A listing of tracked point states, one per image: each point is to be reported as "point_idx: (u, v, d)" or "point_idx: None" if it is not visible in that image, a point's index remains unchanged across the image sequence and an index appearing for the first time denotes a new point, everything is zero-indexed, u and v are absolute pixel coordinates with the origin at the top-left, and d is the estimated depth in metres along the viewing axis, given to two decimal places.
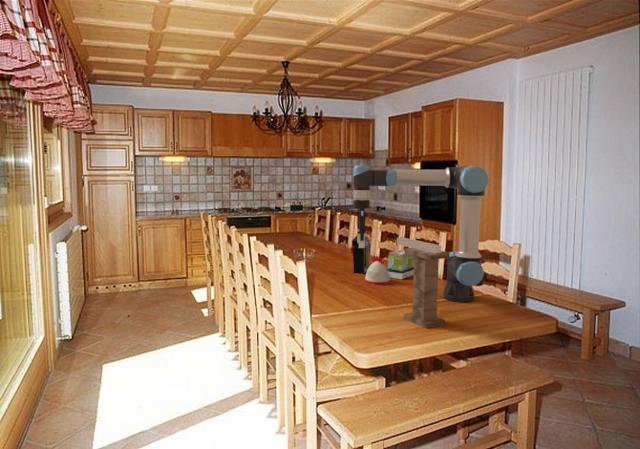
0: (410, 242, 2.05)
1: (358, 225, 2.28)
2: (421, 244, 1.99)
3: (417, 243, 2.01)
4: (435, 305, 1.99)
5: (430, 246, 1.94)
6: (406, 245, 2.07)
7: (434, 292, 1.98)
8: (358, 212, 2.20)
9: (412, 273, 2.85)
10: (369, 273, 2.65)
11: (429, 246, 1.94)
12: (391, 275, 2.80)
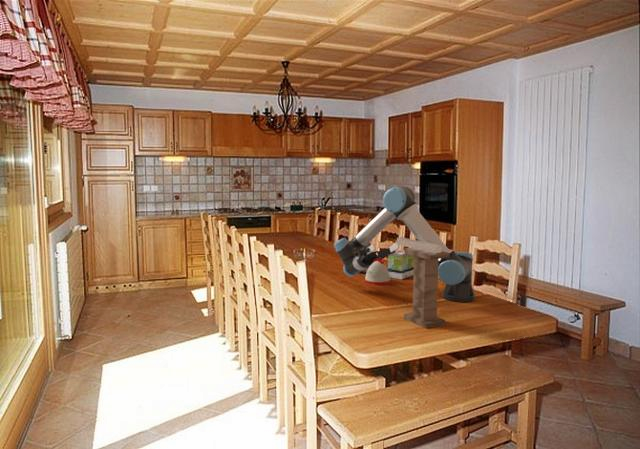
0: (410, 242, 2.05)
1: (387, 253, 2.32)
2: (421, 244, 1.99)
3: (417, 243, 2.01)
4: (435, 305, 1.99)
5: (430, 246, 1.94)
6: (406, 245, 2.07)
7: (434, 292, 1.98)
8: None
9: (412, 273, 2.85)
10: (369, 273, 2.65)
11: (429, 246, 1.94)
12: (391, 275, 2.80)
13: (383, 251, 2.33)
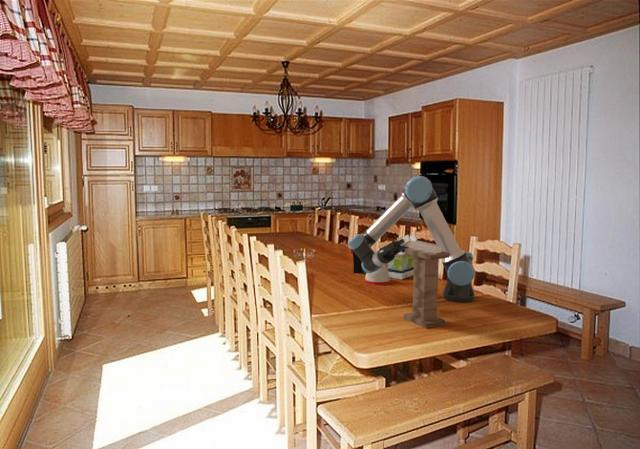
0: (410, 242, 2.05)
1: (404, 246, 2.14)
2: (421, 244, 1.99)
3: (417, 243, 2.01)
4: (435, 305, 1.99)
5: (430, 246, 1.94)
6: (406, 245, 2.07)
7: (434, 292, 1.98)
8: (388, 254, 2.19)
9: (412, 273, 2.85)
10: (369, 273, 2.65)
11: (429, 246, 1.94)
12: (391, 275, 2.80)
13: (401, 245, 2.16)
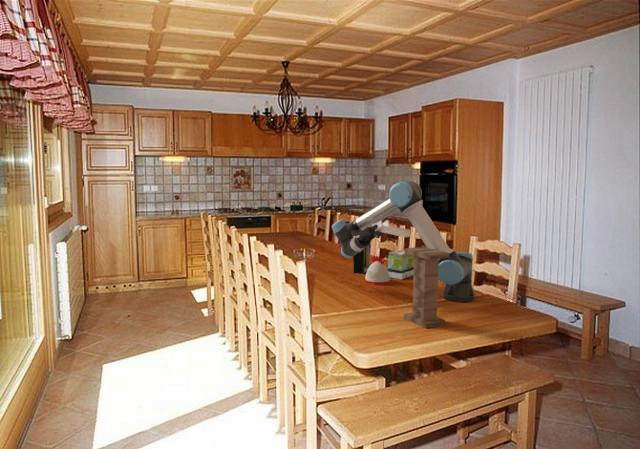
0: (383, 227, 2.22)
1: (378, 232, 2.31)
2: (392, 228, 2.15)
3: (389, 228, 2.18)
4: (435, 305, 1.99)
5: (400, 230, 2.11)
6: (379, 230, 2.24)
7: (434, 292, 1.98)
8: (364, 239, 2.36)
9: (412, 273, 2.85)
10: (369, 273, 2.65)
11: (399, 230, 2.11)
12: (391, 275, 2.80)
13: (375, 231, 2.32)
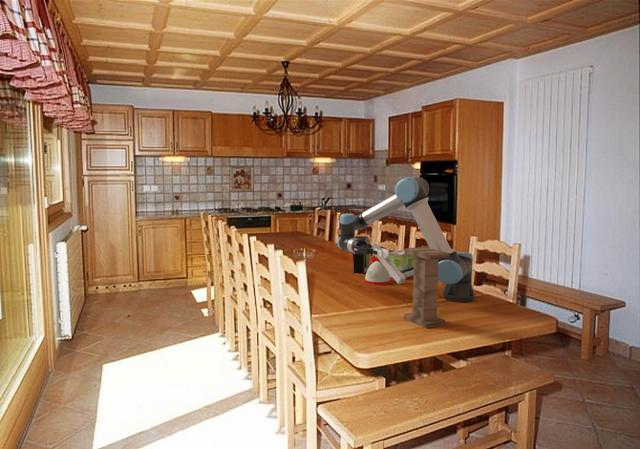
0: (382, 257, 2.24)
1: None
2: (390, 267, 2.19)
3: (387, 263, 2.21)
4: (435, 305, 1.99)
5: (396, 275, 2.15)
6: (378, 257, 2.27)
7: (434, 292, 1.98)
8: None
9: (412, 273, 2.85)
10: (369, 273, 2.65)
11: (395, 274, 2.15)
12: None
13: None
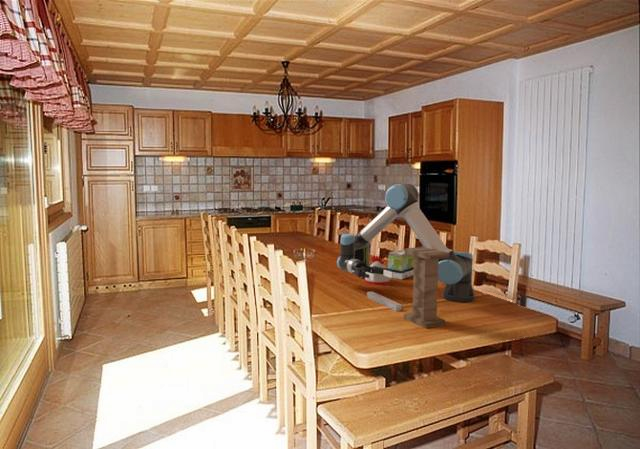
0: (377, 298, 2.30)
1: (380, 273, 2.36)
2: (385, 301, 2.24)
3: (382, 300, 2.26)
4: (435, 305, 1.99)
5: (392, 304, 2.19)
6: (374, 300, 2.33)
7: (434, 292, 1.98)
8: None
9: (412, 273, 2.85)
10: None
11: (391, 304, 2.19)
12: None
13: (377, 270, 2.37)
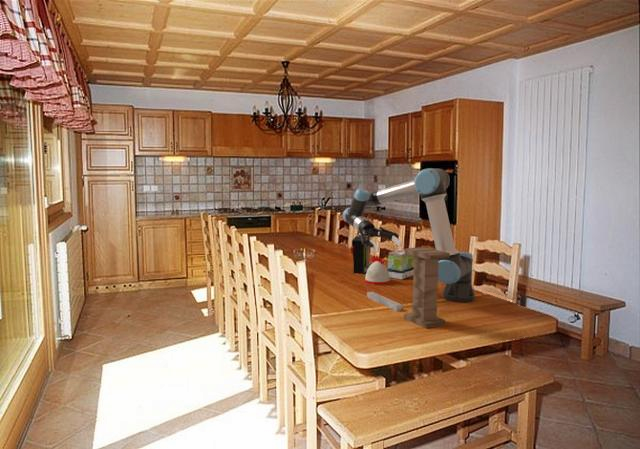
0: (377, 298, 2.30)
1: (388, 238, 2.39)
2: (385, 301, 2.24)
3: (382, 300, 2.26)
4: (435, 305, 1.99)
5: (392, 304, 2.19)
6: (374, 300, 2.33)
7: (434, 292, 1.98)
8: None
9: (412, 273, 2.85)
10: (369, 273, 2.65)
11: (391, 304, 2.19)
12: (391, 275, 2.80)
13: (385, 235, 2.38)
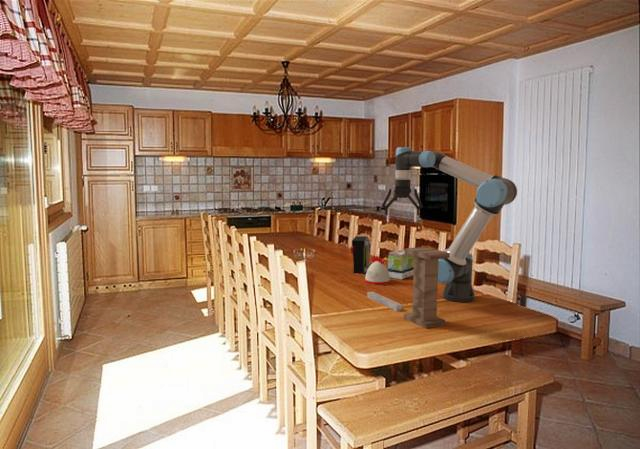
0: (377, 298, 2.30)
1: (413, 204, 2.40)
2: (385, 301, 2.24)
3: (382, 300, 2.26)
4: (435, 305, 1.99)
5: (392, 304, 2.19)
6: (374, 300, 2.33)
7: (434, 292, 1.98)
8: None
9: (412, 273, 2.85)
10: (369, 273, 2.65)
11: (391, 304, 2.19)
12: (391, 275, 2.80)
13: (412, 202, 2.39)
